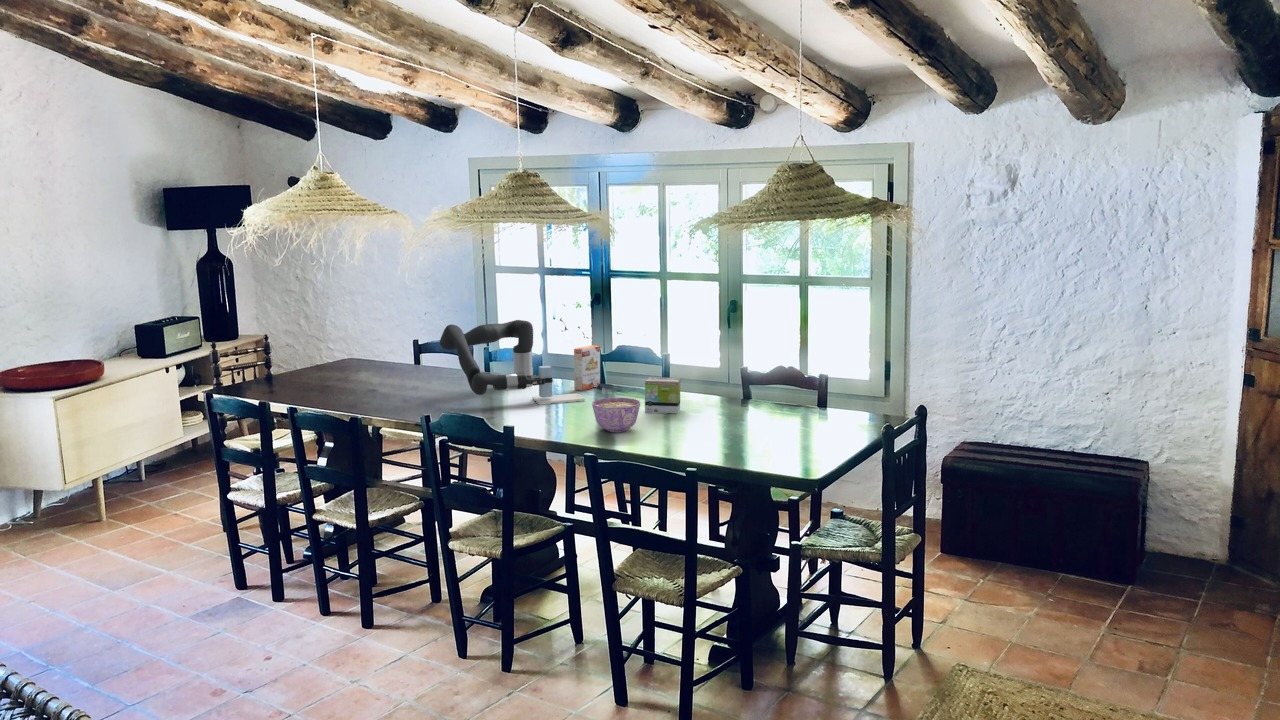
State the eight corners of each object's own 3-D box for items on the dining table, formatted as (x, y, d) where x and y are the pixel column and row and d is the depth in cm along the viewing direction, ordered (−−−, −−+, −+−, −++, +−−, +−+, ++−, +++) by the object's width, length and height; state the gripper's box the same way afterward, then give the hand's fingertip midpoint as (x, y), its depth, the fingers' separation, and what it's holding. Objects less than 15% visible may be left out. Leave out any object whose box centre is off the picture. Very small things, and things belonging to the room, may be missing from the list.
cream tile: (532, 399, 468) (532, 396, 468) (577, 395, 475) (576, 393, 475) (538, 404, 456) (538, 402, 456) (584, 401, 463) (584, 398, 463)
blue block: (539, 395, 465) (538, 366, 462) (549, 394, 466) (548, 365, 464) (541, 397, 460) (541, 368, 458) (552, 396, 462) (551, 367, 459)
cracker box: (583, 391, 486) (582, 349, 482) (573, 390, 489) (572, 348, 486) (601, 386, 497) (600, 345, 493) (592, 385, 500) (591, 344, 497)
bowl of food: (636, 436, 395) (636, 408, 393) (587, 435, 399) (587, 407, 397) (644, 425, 415) (644, 398, 413) (597, 423, 418) (597, 396, 416)
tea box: (644, 413, 436) (644, 380, 434) (647, 408, 446) (647, 376, 443) (678, 414, 434) (678, 381, 431) (680, 409, 444) (680, 377, 441)
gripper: (512, 386, 464) (547, 384, 470) (518, 392, 451) (555, 389, 457) (511, 370, 463) (547, 368, 469) (518, 376, 450) (554, 373, 456)
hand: (550, 379), depth 463 cm, fingers closed on blue block, 5 cm apart
